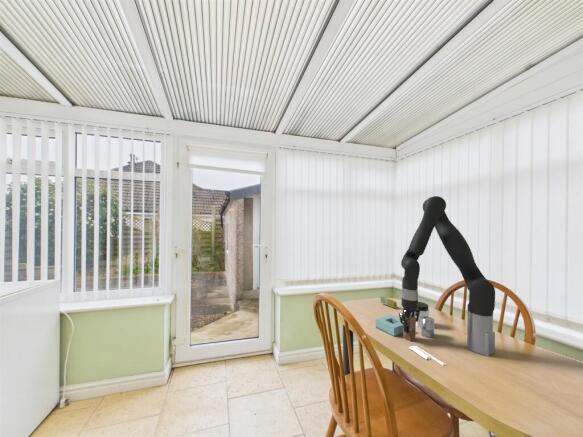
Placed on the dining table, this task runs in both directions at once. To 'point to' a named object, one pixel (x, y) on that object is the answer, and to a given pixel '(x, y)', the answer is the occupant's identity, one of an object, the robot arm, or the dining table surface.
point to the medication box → (388, 302)
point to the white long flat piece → (424, 354)
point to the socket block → (390, 325)
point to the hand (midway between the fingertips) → (409, 331)
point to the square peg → (410, 330)
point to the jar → (422, 312)
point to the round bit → (427, 327)
